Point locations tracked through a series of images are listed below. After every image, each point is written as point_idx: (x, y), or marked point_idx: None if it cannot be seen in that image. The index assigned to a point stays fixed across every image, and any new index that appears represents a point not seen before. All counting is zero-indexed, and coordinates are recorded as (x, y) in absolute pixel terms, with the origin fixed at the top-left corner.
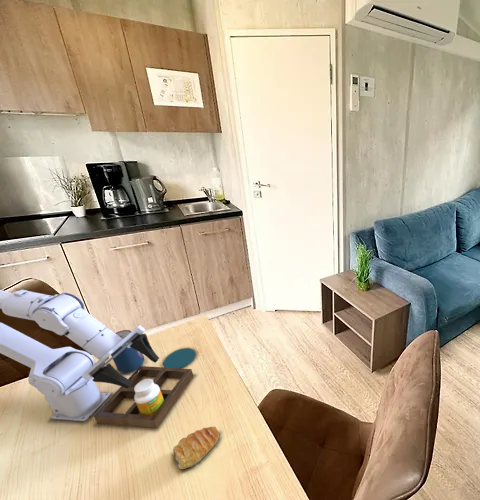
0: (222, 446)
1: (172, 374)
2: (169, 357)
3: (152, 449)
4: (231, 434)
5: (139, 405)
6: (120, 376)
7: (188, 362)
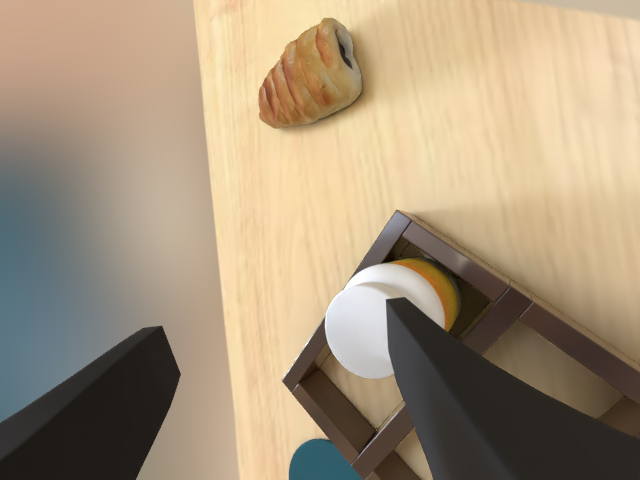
0: None
1: (347, 420)
2: None
3: (424, 135)
4: (250, 105)
5: (428, 277)
6: (424, 429)
7: (309, 447)
